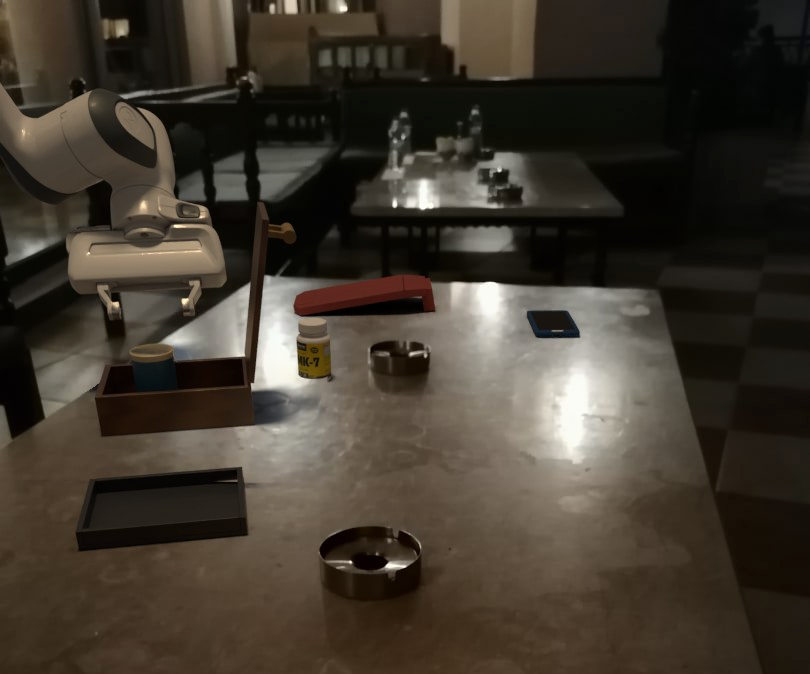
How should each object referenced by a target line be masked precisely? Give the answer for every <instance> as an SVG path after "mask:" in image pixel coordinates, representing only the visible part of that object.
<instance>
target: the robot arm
mask: <svg viewBox="0 0 810 674" xmlns="http://www.w3.org/2000/svg"><path fill="white" fill-rule="evenodd" d="M2 4H3V0H0V7H1V6H2ZM0 159H1V161H2V162H3V164H4V166H5V168H6V169H7V172H8V173H9V175H10V177H11V178H12V180H13V182H14V183H15V184H16V186H17V187H18V188H19V189H20V190H21V191H22V192H23V193H24V194H26V195H28V196H29V197H31V198H33V199H35V200H37V201H39V202H42V203H45V204H49V205H52V206H53V205H57V206H58V205H61V204H63V203H64V202H66V201H67V200H69V199H71V198H73V197H74V196H75V195H77V194H79V193H81V191H82V190H85V189H86V188H89V187H92V186H93V185H96V184H98V183H100V182H102V181H105V182H106V183H108V184H109V185H110V186H111V189H112V190H111V195H110V199H109V203H110V205H109V206H110V222H111V224H110V225H109V224H108V225H96V226H86V225H83V226H82V225H81V226H77V227H76V229H74V230H72V231H70V232H69V233H68V234H67V235H66V238H65V250H66V253H67V255H68V262H67V277H68V281H69V283H70V285H71V287H72V289H73V290H74V291H75V292H76V293H78V294H79V295H92V294H98V296H99V299H100V300H101V302H102V304H103V305H104V306H105V307H106V309H107V317H108V319H109V321H118V320H119V321H120V320H122V307H121V306H120V302H119V301H112V293H129V292H130V293H131V292H132V293H133V292H152V291H171V290H173V291H174V290H188V289H189V290H190V293H189V295H188V297H187V298H181V308H182V315H183V317H195V316H196V312H195V305H197V302H198V301H199V299H200V297H201V296H202V289H212V288H222V287H223V285H225V283H226V282H227V279H228V277H227V270H226V269H227V268H226V261H225V256H224V251H223V246H222V243H221V241H220V238H219V237H220V236H219V234H218V233H217V231H216V230H215V228H213V223H212V217H211V215H210V211H209V209H208V208H207V207H206V206H204V205H201V204H197V203H191V202H188V201H183V200H180V199H177V198H176V195H175V192H174V191H175V190H174V189H175V185H176V171H175V161H174V156H173V151H172V146H171V143H170V139H169V135H168V132H167V130H166V128H165V125H164V124H163V122H162V120H161V119H159V118H158V116H157V115H155V114H154V113H152V112H151V111H150V110H147V109H145V108H141V107H137V106H136V105H134V104H133V103H132V102H130V101H129V100H128V99H125V98H124V97H122V96H121V95H119V94H117V93H116V92H113V91H111V90H108V89H106V88H105V89H104V88H94V89H92V90H90V91H87V92H85V93H83V94H81V95H79V96H77V97H75V98H73V99H71V100H69V101H67V102H65V103H64V104H63V105H60V106H58V107H57V108H56V109H54V110H50V111H49V112H47V113H45V114H43V115H42V116H40V117H30V116H27V115H26V114H23V113H22V111H20V109H19V108H18V106H17V105H16V103H15V102H14V100H13V98H11V96H10V95H9V93H8V92H7V90H6V89H5V88H4V86H3V85H2V82H0Z"/></svg>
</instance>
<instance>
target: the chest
mask: <svg viewBox="0 0 810 674" xmlns="http://www.w3.org/2000/svg"><path fill="white" fill-rule="evenodd" d="M174 361H175V368H176V376H177V383H178V390H169V391H155V392H140V393H137V392H136V386H135V380H134V373H133V367H132V362H131V363H115V364H105V365H104V368H103V371H102V373H101V376H100V380H99V382H98V386H97V389H96V393H95V396H94V402H95V408H96V413H97V418H98V424H99V429H100V430H99V431H100V435H101V437H103V438H104V437H114V436H116V437H117V436H128V435H129V436H130V435H142V434H143V435H145V434H154V433H155V434H156V433H169V432H182V431H197V430H210V429H222V428H236V427H250V426H255V424H256V423H255V411H254V401H253V390H252V383H248V380H247V371H246V362H245V355H244V356H227V357H211V358H209V357H208V358H195V359H179V360H174Z"/></svg>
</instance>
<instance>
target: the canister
mask: <svg viewBox="0 0 810 674" xmlns="http://www.w3.org/2000/svg"><path fill="white" fill-rule="evenodd" d="M128 353H129V359H130V360H131V363H132V367H133V373H134V380H135V386H136V392H137V393H140V392H155V391H169V390H178V383H177V376H176V368H175V361H176V360H175V350H174V347H173V346H172V345H170V344H166V343H148V344H147V343H146V344H141V345H138V346H135V347H133V348H131V349H130V350H129V352H128Z"/></svg>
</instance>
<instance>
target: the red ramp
mask: <svg viewBox="0 0 810 674" xmlns="http://www.w3.org/2000/svg"><path fill="white" fill-rule="evenodd" d="M432 285H433V284H432V281H431V277H427V278H426V276H425V275H415V274H406V273H405V274H404V273H403V274H397V275H391V276H386V277H379V278H374V279H367V280H362V281H356V282H350V283H344V284H339V285H333V286H326V287H321V288H315V289H309V290H304V291H302V292H300V293H298V294H296V295H295V299H294V302H293V305H292V306H293V312H294V314H296V315H299V316H306V315H313V314H317V313H318V314H319V313H324V312H329V311H331V312H332V311H337V310H341V309H342V310H343V309H348V308H354V307H360V306H366V305H371V304H377V303H382V302H383V303H384V302H388V301H396V300H400V299H408V298H420V297H421V300H422V306H423V311H424V313H426V312H431V311H436V305H435V297H434V291H433V286H432Z"/></svg>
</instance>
